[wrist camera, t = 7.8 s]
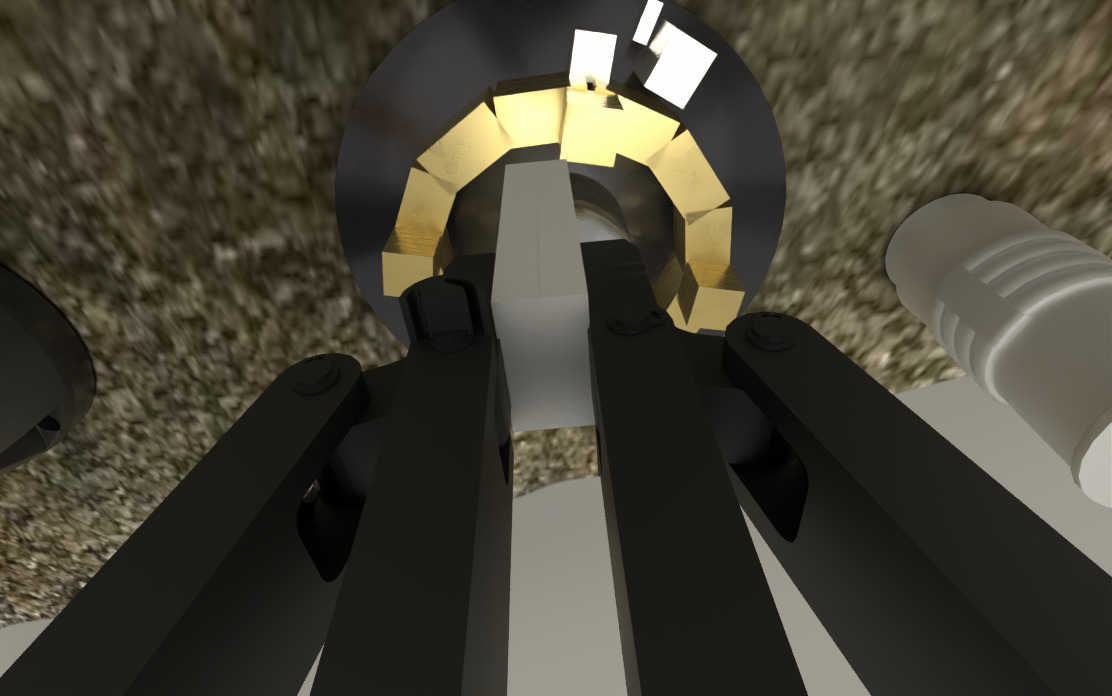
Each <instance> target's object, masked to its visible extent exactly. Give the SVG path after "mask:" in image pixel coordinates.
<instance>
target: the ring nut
mask: <svg viewBox="0 0 1112 696" xmlns="http://www.w3.org/2000/svg"><path fill="white" fill-rule="evenodd" d="M616 37H617V35H616V34H615V32H614V31H613V30H609V29H602V28H595V27H588V26H582V25H575V24H574V28H573V36H572V43H571V51H570V58H569V66H568V71H565V72H558V73H551V74H544V75H537V76H530V77H523V78H516V79H509V80H502V81H498V83H497V86H496V89H495V92H494V90H493V89H492V88H491V87H490V85H489V86H488V87H487V88H485V89H484V90H483V91H482V92H481V93H480V94H478V95H477V96H476V97H475V98H474V99H473V100H472V101H470V102H469V103H468V104H467V105H466V106H465V107H463V108H462V109H461V110H460V111H459V112H458V113H457V114H455V115H454V116H453V117H452V118H451V119H450V120H448V121H447V122H446V123H445V124H444V125H443V126H442V127H440V128H439V129H438V130H437V131H436V132H435V133H433V134H432V135H431V136H430V137H429V138H428V139H427V141H426V143H425V145H424V146H423V147H422V149H421V151H420V153H419V155H418V156H417V158H416V160H415V162H414V164H413V165H412V167H411V171H410V174H409V178H408V182H407V185H406V189H405V192H404V196H403V200H402V203H401V207H400V210H399V214H398V218H397V221H396V225H395V227H394V229H393V231H392V233H391V235H390V237H389V239H388V241H387V243H386V245H385V247H384V249H383V251H382V262H383V287H384V295H386V296H396V297H400V295H401V294H402V293H403V291H404V290H405V289H407V288H408V287H410V286H411V285H413V284H414V283H416V282H418V281H421V280H423V279H426V278H429V277H432V276H437V275H443V273H444V269H445V267H447V266H448V265H449V264H450V263H451V262H452V261H453V260H454V259H455V258H454V255H453V251H452V247H451V243H450V239H449V235H448V231H447V227H446V222H447V219H448V216H449V213H450V210H451V207H452V204H453V201H454V198H455V195H456V192H457V191H459V190H460V189H461V188H462V187H464V186H465V185H466V184H467V183H469V182H470V181H471V180H472V179H474V178H475V177H476V176H477V175H479V174H480V173H481V172H482V171H484V170H485V169H486V168H487V167H489V166H490V165H491V164H492V163H494V162H495V161H496V160H497V159H498V158H500V157H501V156H502V155H503V154H505V153H506V152H507V151H508V150H510V149H512V148H520V147H527V146H534V145H541V144H549V143H556V142H558V146H559V159H567V161H570V162H578V163H586V164H594V165H601V166H609V167H614V162H615V157H616V153H618V154H621V155H623V156H625V157H628V158H630V159H633V160H635V161H637V162H640V163H642V164H644V165H647V166H649V167H650V169H651V170H652V172H653V173H654V175H655V176H656V177H657V179H658V180H659V182H660V183H661V185H662V186H663V188H664V189H665V191H666V192H667V194H668V195H669V197H670V198H671V200H672V201H673V233H674V251H673V253H672V255H671V256H670V258H669V260H668V262H667V263H666V265H665V267H664V269H663V270H662V272H661V274H660V275H659V277H658V279H657V281H656V282H655V284H654V286H653V287H652V290H653V293H654V296H655V299H656V302H657V305H658V306H659V307H661V308H662V309H664V310H666V311H667V312H668V314H669V315H670V316H671V317H672V319H673V322H674V324H675V326H676V327H677V328H679V329H682V330H685V331H688V332H692V333H697V332H698V330H699V329H700V328H704V329H714V330H724V331H726V326H727V325H728V324H729V323H730V322H731V321H732V320H734V319H735V318H736V316H737V313H738V310H739V308H740V305H741V302H742V299H743V297H744V294H745V291H744V289H743V287H742V285H741V284H740V282H739V280H738V278H737V276H736V275H735V273H734V271H733V269H732V268H731V266H730V246H731V224H732V206H731V204H730V203H729V201H728V200H729V199H730V197H729V196H728V194H727V193H726V191H725V189H724V188H723V186H722V185H721V183H720V181H719V180H718V178H717V176H716V175H715V173H714V172H713V170H712V168H711V167H710V165H709V163H708V162H707V160H706V159H705V157H704V155H703V154H702V152H701V150H700V149H699V147H698V146H697V144H696V142H695V141H694V139H693V137H692V136H691V134H690V133H689V131H688V129H687V128H686V127H685V125H684V124H683V123H682V121H681V120H680V118H679V117H678V116H677V114H676V113H675V112H674V111H673V112H672V111H671V109H670V108H669V107H668V105H667V104H665V103H662V102H660V101H658V100H656V99H654V98H651V97H649V96H647V95H645V94H643V93H641V92H638V91H636V90H634V89H632V88H630V87H627V86H625V85H623V84H621V83H619V82H616V81H614V80H612V79H610V72H611V66H612V60H613V54H614V48H615V43H616ZM586 82H587V83H586Z"/></svg>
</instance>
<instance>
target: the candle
mask: <svg viewBox="0 0 1112 696" xmlns="http://www.w3.org/2000/svg"><path fill="white" fill-rule="evenodd" d="M885 265H886V271H887V274H888V276H889V278H890V280H891V281H892V282H893V283H894V284H895V285H896V292H897V294H898V297H899V299H900V301H901V303H902V304H903V305H904V306H905V307H906V308H907V309H908V310H909V311H910V312H911V313H912V314H913V315H914V316H916V317H917V318H918V319H919V320H920V321H922V322H923V323H924V324H925V325H927V326H928V327H929V328H930V329H931V331H932V333H933V336H934V338H935V340H936V341H937V343H938V344H939V345H940V346H941V347H942V348H943V349H944V350H945V351H946V352H947V353H948V354H949V355H950V356H951V357H952V358H953V359H954V360H955V361H956V362H957V363H958V364H959V365H960V366H961V367H962V368H963V370H964V371H965V372H966V373H967V374H968V375H969V376H970V377H971V378H972V379H973V380H974V381H975V382H976V383H977V384H978V385H979V386H980V387H981V388H982V389H983V390H984V391H985V392H986V393H987V394H988V395H989V396H990V397H991V398H992V399H993V400H994V401H996V402H999V403H1001V404H1003V405H1005V406H1008V407H1012V408H1013V409H1014V410H1015V411H1016V412H1017V413H1018V414H1019V415H1020V416H1021V417H1022V418H1023V419H1024V420H1025V421H1026V422H1027V423H1028V424H1029V425H1030V426H1031V427H1032V428H1033V429H1034V430H1035V431H1036V432H1037V433H1038V435H1039V436H1040V437H1042V439H1043V440H1044V441H1045V442H1047V444H1048V445H1049V446H1050V447H1051V448H1052V449H1053V450H1054V451H1055V452H1056V453H1057V454H1058V455H1059V456H1060V457H1061V458H1062V459H1063V460H1064V461H1065V462H1066V463H1067V464H1068V465H1069V466H1070V467H1071V468H1070V469H1071V472H1072V476H1073V480H1074V482H1075V483H1076V484H1077V486H1078V487H1079V488H1080V489H1081V490H1082V491H1083V492H1084V493H1085V494H1086V495H1087V496H1088V497H1089V498H1090V499H1091V500H1092V501H1094V502H1097V503H1100V504H1102V505H1104V506H1107V507H1110V508H1112V259H1110V258H1109V257H1107V256H1106V255H1104V254H1102V253H1100V252H1099V251H1097V250H1095V249H1093V248H1091V247H1090V246H1088V245H1086V244H1085V243H1083V242H1081V241H1080V240H1078V239H1076V238H1074V237H1072V236H1071V235H1069V234H1067V233H1065V232H1060V231H1054V230H1050V229H1049V228H1047V227H1046V226H1045V225H1044V224H1042V223H1041V222H1040V221H1038V220H1037V219H1036V218H1034V217H1033V216H1032V215H1030V214H1029V213H1028V212H1026V211H1025V210H1023V209H1021V208H1020V207H1018V206H1016V205H1014V204H1012V203H1007V202H1001V201H989V200H987V199H985V198H983V197H981V196H979V195H973V194H968V193H964V194H953V195H948V196H945V197H942V198H939V199H936V200H934V201H932V202H930V203H928V204H926V205H924V206H923V207H921V208H919V209H918V210H917V211H915V212H914V213H913V214H912V215H911V216H909V217H908V218H907V219H906V220H905V221H904V222H903V223H902V225H901V226H900V227H899V228H898V229H897V230H896V232H895V234H894V235H893V237H892V239H891V241H890V243H889V245H888V249H887V252H886V256H885Z"/></svg>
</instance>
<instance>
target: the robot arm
mask: <svg viewBox="0 0 1112 696" xmlns="http://www.w3.org/2000/svg"><path fill="white" fill-rule="evenodd" d="M398 300H399V303H400V307H401V310H402V314H403V318H404V321H405V325H406V328H407V332H408V336H409V339H410V347H409V350H408V354H407V357H405V358H403V359H401V360H399V361H396V362H394V363H391V364H388V365H385V366H382V367H378V368H375V369H371V370H368V371H364V372H362V369H361V366H360V363H359V361H357V360H356V359H355V358H353V357H352V356H350V355H345V354H340V353H332V354H320V355H315V356H314V357H313V356H312V357H309V358H306V359H304V360H302V361H300V362H298V363H296V364H294V365H292V366H290V367H289V368H288V369H286V370H285V371H284V372H283V373H282V374H280V375H279V376H278V377H277V378H276V379H275V380H274V381H273V382H272V383H271V385H270V386H269V387H268V388H267V389H266V390H265V391H264V392H263V393H262V394H261V395H260V396H259V398H258V399H257V400H256V401H255V402H254V403H253V404H252V405H251V406H250V407H249V408H248V409H247V411H246V412H245V413H244V414H243V415H242V416H241V417H240V418H239V419H238V420H237V421H236V422H235V424H234V425H233V426H232V427H231V428H230V429H229V430H228V431H227V432H226V433H225V434H224V436H223V437H222V438H221V439H220V440H219V441H218V442H217V443H216V444H215V445H214V446H213V447H212V449H211V450H210V451H209V452H208V453H207V454H206V455H205V456H204V457H203V458H202V459H201V460H200V462H199V463H198V464H197V465H196V466H195V467H194V468H193V469H192V470H191V471H190V472H189V473H188V475H187V476H186V477H185V478H184V479H183V480H182V481H181V482H180V483H179V484H178V485H177V486H176V488H175V489H174V490H173V491H172V492H171V493H170V494H169V495H168V496H167V497H166V498H165V500H164V501H163V502H162V503H161V504H160V505H159V506H158V507H157V508H156V509H155V510H154V511H153V513H152V514H151V515H150V516H149V517H148V518H147V519H146V520H145V521H144V522H143V523H142V524H141V526H140V527H139V528H138V529H137V530H136V531H135V532H134V533H133V534H132V535H131V536H130V537H129V539H128V540H127V541H126V542H125V543H124V544H123V545H122V546H121V547H120V548H119V549H118V550H117V552H116V553H115V554H114V555H113V556H112V557H111V558H110V559H109V560H108V561H107V562H106V564H105V565H104V566H103V567H102V568H101V569H100V570H99V571H98V572H97V573H96V574H95V575H94V577H93V578H92V579H91V580H90V581H89V582H88V583H87V584H86V585H85V586H84V587H83V588H82V590H81V591H80V592H79V593H78V594H77V595H76V596H75V597H74V598H73V599H72V600H71V601H70V603H69V604H68V605H67V606H66V607H65V608H64V609H63V610H62V611H61V612H60V613H59V614H58V616H57V617H56V618H55V619H54V620H53V621H52V622H51V623H50V624H49V626H47V628H46V629H45V630H44V631H43V632H42V633H41V634H40V635H39V636H38V637H37V638H36V640H35V641H34V642H33V643H32V644H31V645H30V646H29V647H28V648H27V649H26V650H25V651H24V652H23V654H22V655H21V656H20V657H19V658H18V659H17V660H16V661H15V662H14V663H13V664H12V666H11V667H10V668H9V669H8V670H7V671H6V672H5V673H4V674H3V675H2V677H1V678H0V696H297V694H298V692H299V690H300V689H301V687H302V685H303V682H304V681H305V679H306V677H307V675H308V673H309V671H310V669H311V668H312V666H313V664H314V662H315V660H316V658H317V656H318V654H319V652H320V650H321V648H322V646H323V645H324V647H323V651H322V654H321V658H320V661H319V665H318V668H317V672H316V675H315V679H314V682H313V686H312V689H311V692H310V696H507V675H508V640H509V605H510V604H509V603H510V570H511V533H512V499H513V464H514V452H513V446H512V440H511V435H510V421H511V422H512V427H513V432H519V431H531V430H542V429H554V428H565V427H577V426H588V425H595V427H596V443H597V459H598V475H599V476H600V477H601V484H602V492H603V501H604V509H605V517H606V525H607V533H608V541H609V549H610V557H611V565H612V573H613V581H614V589H615V598H616V606H617V613H618V622H619V630H620V637H621V646H622V654H623V661H624V669H625V678H626V686H627V694H628V696H808V694H807V691H806V688H805V686H804V683H803V680H802V677H801V674H800V672H799V669H798V666H797V663H796V661H795V658H794V655H793V652H792V649H791V647H790V644H789V641H788V638H787V636H786V633H785V630H784V627H783V624H782V622H781V619H780V616H779V613H778V610H777V608H776V605H775V602H774V599H773V597H772V594H771V591H770V588H769V585H768V583H767V580H766V577H765V575H764V572H763V569H762V566H761V563H760V560H759V558H758V555H757V552H756V550H755V547H754V544H753V541H752V538H751V536H750V533H749V530H748V527H747V525H746V522H745V519H744V516H743V513H742V510H741V508H740V505H741V507H742V508H743V510H744V511H745V513H746V514H747V516H748V517H749V519H750V520H751V521H752V523H753V524H754V526H755V527H756V529H757V530H758V531H759V533H760V534H761V536H762V537H763V539H764V540H765V542H766V543H767V544H768V546H769V548H770V549H771V550H772V552H773V553H774V555H775V556H776V558H777V559H778V561H779V562H780V563H781V565H782V567H783V568H784V569H785V571H786V572H787V574H788V575H789V577H790V578H791V580H792V581H793V583H794V584H795V585H796V587H797V588H798V590H799V591H800V593H801V594H802V595H803V597H804V598H805V600H806V601H807V603H808V604H809V606H810V607H811V609H812V610H813V612H814V613H815V615H816V616H817V617H818V619H819V620H820V622H821V623H822V625H823V626H824V628H825V629H826V631H827V632H828V633H829V635H830V636H831V638H832V639H833V641H834V642H835V644H836V645H837V647H838V648H839V649H840V650H841V652H842V654H843V655H844V657H845V658H846V660H847V661H848V663H849V664H850V665H851V667H852V668H853V670H854V671H855V673H856V674H857V676H858V677H859V679H860V680H861V681H862V683H863V684H864V686H865V687H866V689H867V690H868V691H869V693H870V695H871V696H1112V577H1111V576H1110V575H1109V574H1107V573H1106V572H1105V571H1104V570H1103V569H1101V568H1100V567H1099V566H1098V565H1097V564H1095V563H1094V562H1093V561H1092V560H1091V559H1089V558H1088V557H1087V556H1086V555H1084V554H1083V553H1082V552H1081V551H1080V550H1079V549H1077V548H1076V547H1075V546H1074V545H1073V544H1071V543H1070V542H1069V541H1068V540H1067V539H1065V538H1064V537H1063V536H1062V535H1061V534H1059V533H1058V532H1057V531H1056V530H1055V529H1053V528H1052V527H1051V526H1050V525H1049V524H1047V523H1046V522H1045V521H1044V520H1043V519H1041V518H1040V517H1039V516H1038V515H1036V514H1035V513H1034V512H1033V511H1032V510H1031V509H1029V508H1028V507H1027V506H1026V505H1025V504H1023V503H1022V502H1021V501H1020V500H1019V499H1017V498H1016V497H1015V496H1014V495H1013V494H1011V493H1010V492H1009V491H1008V490H1007V489H1005V488H1004V487H1003V486H1002V485H1001V484H999V483H998V482H997V481H996V480H995V479H993V478H992V477H991V476H990V475H989V474H987V473H986V472H985V471H984V470H982V469H981V468H980V467H979V466H978V465H977V464H975V463H974V462H973V461H972V460H970V459H969V458H968V457H967V456H966V455H964V454H963V453H962V452H961V451H960V450H959V449H957V448H956V447H955V446H954V445H952V444H951V443H950V442H949V441H948V440H946V439H945V438H944V437H943V436H941V434H939V433H938V432H937V431H936V430H934V429H933V428H932V427H931V426H930V425H928V424H927V423H926V422H925V421H924V420H923V419H921V418H920V417H919V416H918V415H917V414H915V413H914V412H913V411H912V410H911V409H909V408H908V407H907V406H906V405H904V404H903V403H902V402H901V401H900V400H899V399H897V398H896V397H895V396H894V395H893V394H891V393H890V392H889V391H888V390H887V389H885V388H884V387H883V386H882V385H881V384H879V383H878V382H877V381H876V380H875V379H873V378H872V377H871V376H870V375H869V374H867V373H866V372H865V371H864V370H863V369H861V368H860V367H859V366H858V365H857V364H855V363H854V362H853V361H852V360H851V359H849V358H848V357H847V356H846V355H845V354H843V353H842V352H841V351H840V350H839V349H837V348H836V347H835V346H834V345H833V344H831V343H830V342H829V341H828V340H827V339H825V338H824V337H823V336H822V335H821V334H819V333H818V332H817V331H816V330H815V329H813V328H812V327H811V326H809V325H808V324H806V323H804V322H803V321H801V320H799V319H798V318H794V317H791V316H788V315H784V314H781V313H775V312H773V313H770V312H758V313H749V314H745V315H743V316H740V317H738V318H735V319H734V320H732V321H731V322H730V323H729V324H728V325H727V326H726V331H725V337H723V336H714V335H704V334H698V333H692V332H688V331H685V330H682V329H679V328H677V327H676V326H675V324H674V322H673V319H672V317H671V316H670V315H669V314H668V312H667V311H666V310H664V309H662V308H661V307H659V306H658V305H657V302H656V299H655V296H654V293H653V290H652V287H651V284H650V281H649V278H648V275H647V274H646V269H645V267H644V264H643V261H642V258H641V255H640V252H639V249H638V248H637V247H636V246H634V245H633V244H632V243H630V242H629V241H627V240H626V239H614V240H603V241H592V242H582V243H580V241H579V234H578V228H577V222H576V215H575V209H574V203H573V196H572V190H571V184H570V177H569V171H568V165H567V159H560V160H549V161H539V162H529V163H518V164H508V165H506V166H505V175H504V185H503V194H502V203H501V213H500V222H499V231H498V241H497V250H496V252H494V253H484V254H473V255H462V256H457V257H456V258H455V259H454V260H453V261H452V262H451V263H450V264H449V265H448V266H447V267H445V269H444V273H443V275H437V276H432V277H429V278H426V279H423V280H421V281H418V282H416V283H414V284H413V285H411V286H410V287H408V288H407V289H405V290H404V291H403V293H402V294H401V295H400V297H399V298H398ZM94 387H95V385H94V374H93V370H92V366H91V363H90V360H89V357H88V355H87V353H86V351H85V349H84V347H83V345H82V343H81V341H80V340H79V338H78V337H77V335H76V333H75V332H74V331H73V329H72V328H71V327H70V325H69V324H68V323H67V322H66V320H65V319H64V318H63V317H62V316H61V315H60V314H59V312H58V311H57V310H56V309H55V308H54V307H53V306H52V305H51V304H50V303H49V302H48V301H47V300H45V299H44V298H43V297H42V296H41V295H40V294H39V293H38V292H36V291H35V290H34V289H33V288H31V287H30V286H29V285H28V284H26V283H25V282H24V281H22V280H21V279H19V278H18V277H17V276H15V275H14V274H12V273H11V272H9V271H8V270H6V269H5V268H3V267H1V266H0V476H2V475H3V474H5V473H7V472H9V471H11V470H13V469H15V468H16V467H18V466H20V465H22V464H24V463H26V462H28V461H30V460H31V459H33V458H35V457H37V456H39V455H41V454H43V453H44V452H46V451H48V450H49V449H51V448H52V447H53V446H55V445H56V444H57V443H58V442H60V441H61V440H62V439H63V438H64V437H65V436H66V435H67V434H68V433H69V431H70V430H71V429H72V428H73V427H74V426H75V425H76V424H77V423H78V422H79V421H80V420H81V419H82V418H83V417H84V415H85V414H86V413H87V411H88V409H89V407H90V405H91V403H92V400H93V396H94ZM312 484H313V485H314V486H313V487H312V489H311V490H310V492H309V493H308V495H307V496H306V497H305V498H304V499H303V497H304V495H305V494H306V492H307V491H308V490H309V488H310V487H311V485H312ZM739 504H740V505H739ZM324 643H325V644H324Z"/></svg>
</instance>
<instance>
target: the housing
mask: <svg viewBox="0 0 1112 696" xmlns="http://www.w3.org/2000/svg"><path fill="white" fill-rule="evenodd" d="M574 24H575V25H582V26H588V27H595V28H602V29H609V30H613V31H614V32H615V34H616V35H617V37H616V43H615V48H614V54H613V60H612V66H611V72H610V79H612V80H614V81H616V82H619V83H621V84H623V85H625V86H627V87H630V88H632V89H634V90H636V91H638V92H641V93H643V94H645V95H647V96H649V97H651V98H654V99H656V100H658V101H660V102H662V103H665V104H667V105H668V107H669V108H670V109H671V111H672V112H673V111H674V112H675V113H676V114H677V116H678V117H679V118H680V120H681V121H682V123H683V124H684V125H685V127H686V128H687V129H688V131H689V133H690V134H691V136H692V137H693V139H694V141H695V142H696V144H697V146H698V147H699V149H700V150H701V152H702V154H703V155H704V157H705V159H706V160H707V162H708V163H709V165H710V167H711V168H712V170H713V172H714V173H715V175H716V176H717V178H718V180H719V181H720V183H721V185H722V186H723V188H724V189H725V191H726V193H727V194H728V196H729V197H730V199H729V200H728V201H729V203H730V204H731V206H732V224H731V246H730V266H731V268H732V269H733V271H734V273H735V275H736V276H737V278H738V280H739V282H740V284H741V285H742V287H743V289H744V291H745V294H744V297H743V299H742V302H741V305H740V308H739V310H738V313H737V316H736V318H738V317H740V316H741V315H742V313H743V312H744V310H745V309H746V308H747V306H748V305H749V304H750V302H751V301H752V299H753V298H754V296H755V294H756V293H757V291H758V289H759V287H760V285H761V284H762V282H763V280H764V278H765V276H766V274H767V272H768V269H769V267H770V264H771V262H772V259H773V257H774V254H775V252H776V248H777V245H778V241H779V237H780V233H781V229H782V225H783V218H784V210H785V201H786V169H785V162H784V156H783V150H782V144H781V139H780V135H779V132H778V129H777V126H776V123H775V120H774V116H773V113H772V110H771V108H770V106H769V104H768V102H767V100H766V98H765V96H764V94H763V92H762V90H761V88H760V86H759V84H758V82H757V81H756V79H755V78H754V76H753V75H752V74H751V72H750V71H749V69H748V68H747V66H746V65H745V64H744V62H743V61H742V59H741V58H740V56H739V55H738V54H737V53H736V52H735V51H734V50H733V49H732V48H731V47H730V46H729V45H728V44H727V43H726V42H725V41H724V40H723V39H722V38H721V37H720V35H719V34H718V33H717V32H715V31H714V30H713V29H712V28H710V27H709V26H708V25H706V24H705V23H704V22H702V21H701V20H700V19H698V18H697V17H696V16H694V15H693V14H692V13H690V12H689V11H687V10H686V9H684V8H682V7H680V6H678V5H676V4H675V3H673V2H671V1H669V0H454V1H452V2H451V3H449V4H448V5H446V6H445V7H443V8H442V9H440V10H439V11H437V12H436V13H434V14H433V15H431V16H430V17H428V18H427V19H425V20H424V21H422V22H421V23H420V24H418V25H417V26H416V27H415V28H414V29H413V30H412V31H411V32H410V33H409V34H408V35H406V36H405V37H404V38H403V39H402V40H401V41H400V42H399V43H398V44H397V45H396V46H394V47H393V48H392V50H391V51H390V52H389V53H388V55H387V56H386V57H385V58H384V60H383V61H382V62H381V63H380V65H379V66H378V67H377V68H376V70H375V71H374V72H373V73H372V75H371V76H370V78H369V80H368V82H367V83H366V85H365V87H364V89H363V90H362V92H361V94H360V95H359V97H358V99H357V101H356V102H355V105H354V108H353V110H352V113H351V115H350V118H349V120H348V123H347V125H346V128H345V130H344V134H343V139H342V143H341V147H340V152H339V156H338V160H337V172H336V184H335V198H336V214H337V222H338V227H339V232H340V237H341V242H342V246H343V249H344V252H345V255H346V258H347V261H348V264H349V267H350V269H351V272H352V274H353V276H354V278H355V280H356V282H357V284H358V286H359V288H360V290H361V292H362V294H363V296H364V297H365V299H366V300H367V302H368V303H369V305H370V306H371V308H372V309H373V311H374V312H375V314H376V315H377V316H378V318H379V319H380V320H381V321H382V322H383V323H384V325H385V326H386V327H387V328H388V329H389V330H390V332H391V333H392V334H393V335H394V336H395V337H396V338H397V339H398V340H399V341H401V342H402V343H403V344H404V345H405V346H406V347H407V348H408V349H409V347H410V339H409V336H408V332H407V328H406V325H405V321H404V318H403V314H402V310H401V307H400V303H399V300H398V298H399V297H396V296H386V295H384V287H383V262H382V251H383V249H384V247H385V245H386V243H387V241H388V239H389V237H390V235H391V233H392V231H393V229H394V227H395V225H396V221H397V218H398V214H399V210H400V207H401V203H402V200H403V196H404V192H405V189H406V185H407V182H408V178H409V174H410V171H411V167H412V165H413V164H414V162H415V160H416V158H417V156H418V155H419V153H420V151H421V149H422V147H423V146H424V145H425V143H426V141H427V139H428V138H429V137H430V136H431V135H432V134H433V133H435V132H436V131H437V130H438V129H439V128H440V127H442V126H443V125H444V124H445V123H446V122H447V121H448V120H450V119H451V118H452V117H453V116H454V115H455V114H457V113H458V112H459V111H460V110H461V109H462V108H463V107H465V106H466V105H467V104H468V103H469V102H470V101H472V100H473V99H474V98H475V97H476V96H477V95H478V94H480V93H481V92H482V91H483V90H484V89H485V88H487V87H488V86H489V85H490V87H491V88H492V89H493V90H494V92H495V89H496V86H497V83H498V81H502V80H509V79H516V78H523V77H530V76H537V75H544V74H551V73H558V72H565V71H568V66H569V58H570V51H571V43H572V36H573V28H574ZM586 83H587V82H586ZM549 160H560V159H559V146H558V142H556V143H549V144H541V145H534V146H527V147H520V148H512V149H510V150H508V151H507V152H506V153H505V154H503V155H502V156H501V157H500V158H498V159H497V160H496V161H495V162H494V163H492V164H491V165H490V166H489V167H487V168H486V169H485V170H484V171H482V172H481V173H480V174H479V175H477V176H476V177H475V178H474V179H472V180H471V181H470V182H469V183H467V184H466V185H465V186H464V187H462V188H461V189H460V190H459V191H457V192H456V195H455V198H454V201H453V204H452V207H451V210H450V213H449V216H448V219H447V222H446V227H447V231H448V235H449V239H450V243H451V247H452V251H453V255H454V258H456V257H457V256H462V255H473V254H484V253H494V252H496V250H497V241H498V231H499V222H500V213H501V203H502V194H503V185H504V175H505V166H506V165H508V164H518V163H529V162H539V161H549ZM567 165H568V171H569V177H570V184H571V190H572V196H573V203H574V209H575V215H576V222H577V228H578V234H579V241H580V243H582V242H592V241H603V240H614V239H626V240H627V241H629V242H630V243H632V244H633V245H634V246H636V247H637V248H638V249H639V252H640V255H641V258H642V261H643V264H644V267H645V269H646V274H647V275H648V278H649V281H650V284H651V287H653V286H654V284H655V282H656V281H657V279H658V277H659V275H660V274H661V272H662V270H663V269H664V267H665V265H666V263H667V262H668V260H669V258H670V256H671V255H672V253H673V251H674V233H673V201H672V200H671V198H670V197H669V195H668V194H667V192H666V191H665V189H664V188H663V186H662V185H661V183H660V182H659V180H658V179H657V177H656V176H655V175H654V173H653V172H652V170H651V169H650V167H649V166H647V165H644V164H642V163H640V162H637V161H635V160H633V159H630V158H628V157H625V156H623V155H621V154H618V153H616V157H615V162H614V167H609V166H601V165H594V164H586V163H578V162H570V161H567ZM697 333H698V334H704V335H714V336H723V335H724V334H725V331H724V330H714V329H704V328H700V329H699V330H698V332H697Z"/></svg>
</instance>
